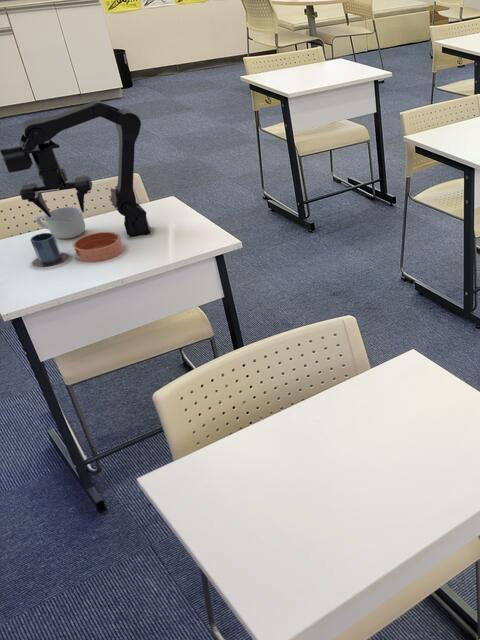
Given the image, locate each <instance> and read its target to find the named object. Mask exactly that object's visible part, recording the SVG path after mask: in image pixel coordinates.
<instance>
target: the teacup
mask: <svg viewBox="0 0 480 640" xmlns="http://www.w3.org/2000/svg"><path fill="white" fill-rule="evenodd" d="M49 211H50V214H51V217H49V216H48V215H47V214H45V213H44V214H42V213H41V214H38V215H37V216H36V217H35V221H36V224H38V225H39V226H40V227H41V228H43V229H46V230H48V231H49V233H51V234H53V235H54V237H55V238H57V239H61V240H67V239H68V240H69V239H73V238H76V237H79V236H80V235H82V234H83V233H84V231H85V230H86V223H85V219H84V217H83V213H82V210H81V208H80V207H77V206H61V207H56V208H54V209H51V210H49ZM41 219H43V220H44V221H45V223H43V222H42V221H41Z"/></svg>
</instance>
